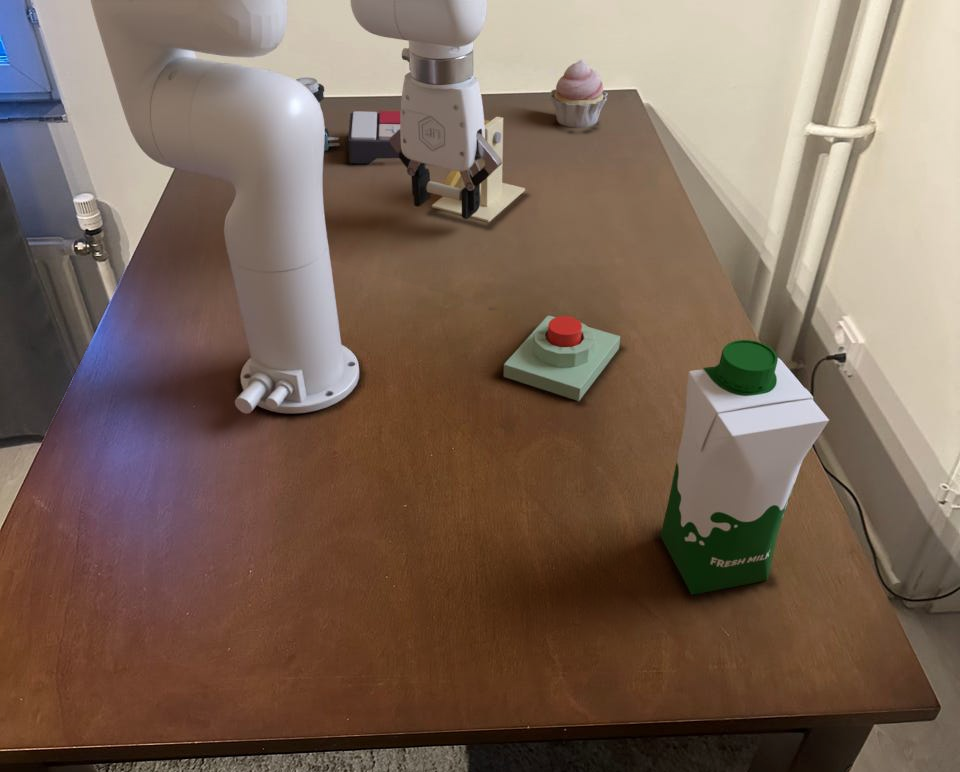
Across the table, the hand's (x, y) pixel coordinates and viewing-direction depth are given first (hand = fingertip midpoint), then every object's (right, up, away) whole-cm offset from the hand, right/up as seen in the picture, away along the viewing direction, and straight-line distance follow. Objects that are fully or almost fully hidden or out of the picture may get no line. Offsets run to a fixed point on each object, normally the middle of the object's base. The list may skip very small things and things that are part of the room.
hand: (446, 207), depth 118 cm
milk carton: (+25, -44, -40) cm, 64 cm away
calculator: (-8, +16, +22) cm, 28 cm away
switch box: (+14, -24, -19) cm, 33 cm away
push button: (-21, +16, +22) cm, 34 cm away
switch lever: (+3, +6, +1) cm, 6 cm away
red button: (+14, -21, -21) cm, 33 cm away
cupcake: (+20, +23, +28) cm, 42 cm away
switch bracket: (+4, +3, +8) cm, 10 cm away
